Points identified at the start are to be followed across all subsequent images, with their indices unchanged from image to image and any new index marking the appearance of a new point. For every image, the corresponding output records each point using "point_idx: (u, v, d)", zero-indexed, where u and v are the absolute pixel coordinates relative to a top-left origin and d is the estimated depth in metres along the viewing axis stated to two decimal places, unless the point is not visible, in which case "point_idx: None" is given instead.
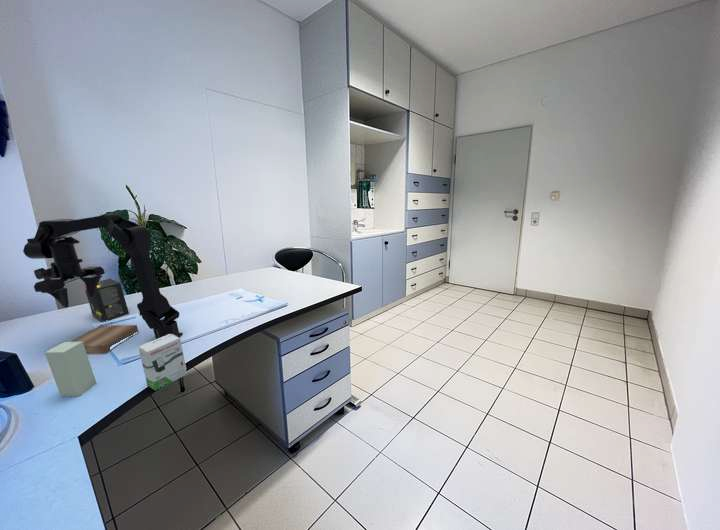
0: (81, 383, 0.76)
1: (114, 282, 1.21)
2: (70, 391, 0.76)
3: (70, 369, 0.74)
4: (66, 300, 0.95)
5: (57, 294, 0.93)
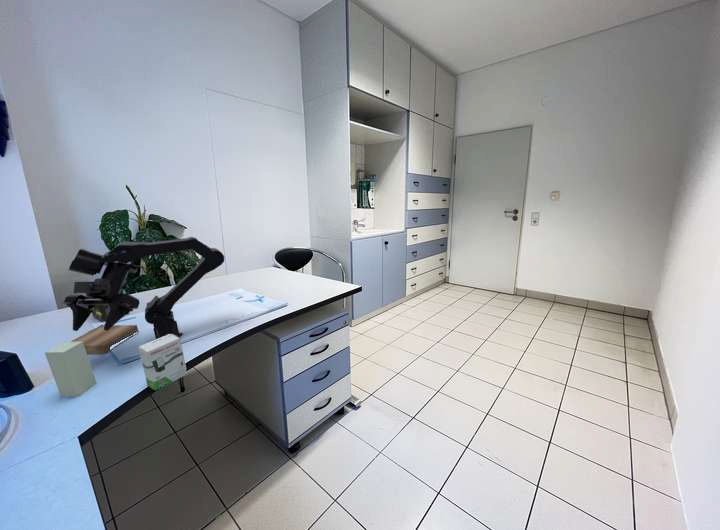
0: (81, 383, 0.76)
1: None
2: (70, 391, 0.76)
3: (70, 369, 0.74)
4: None
5: (116, 312, 0.84)
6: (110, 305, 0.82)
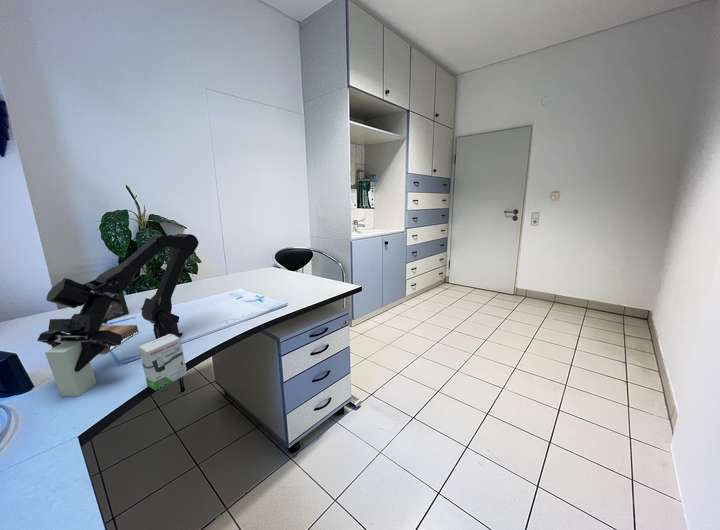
0: (81, 383, 0.76)
1: None
2: (70, 391, 0.75)
3: (71, 369, 0.74)
4: None
5: (89, 351, 0.77)
6: (82, 344, 0.76)
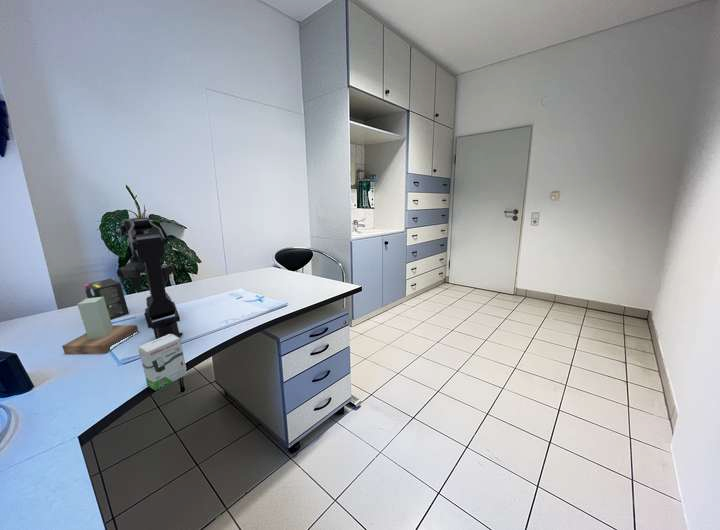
0: (91, 331, 0.98)
1: (114, 282, 1.21)
2: None
3: (82, 318, 0.96)
4: None
5: (162, 279, 1.11)
6: None
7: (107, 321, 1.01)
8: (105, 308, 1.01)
